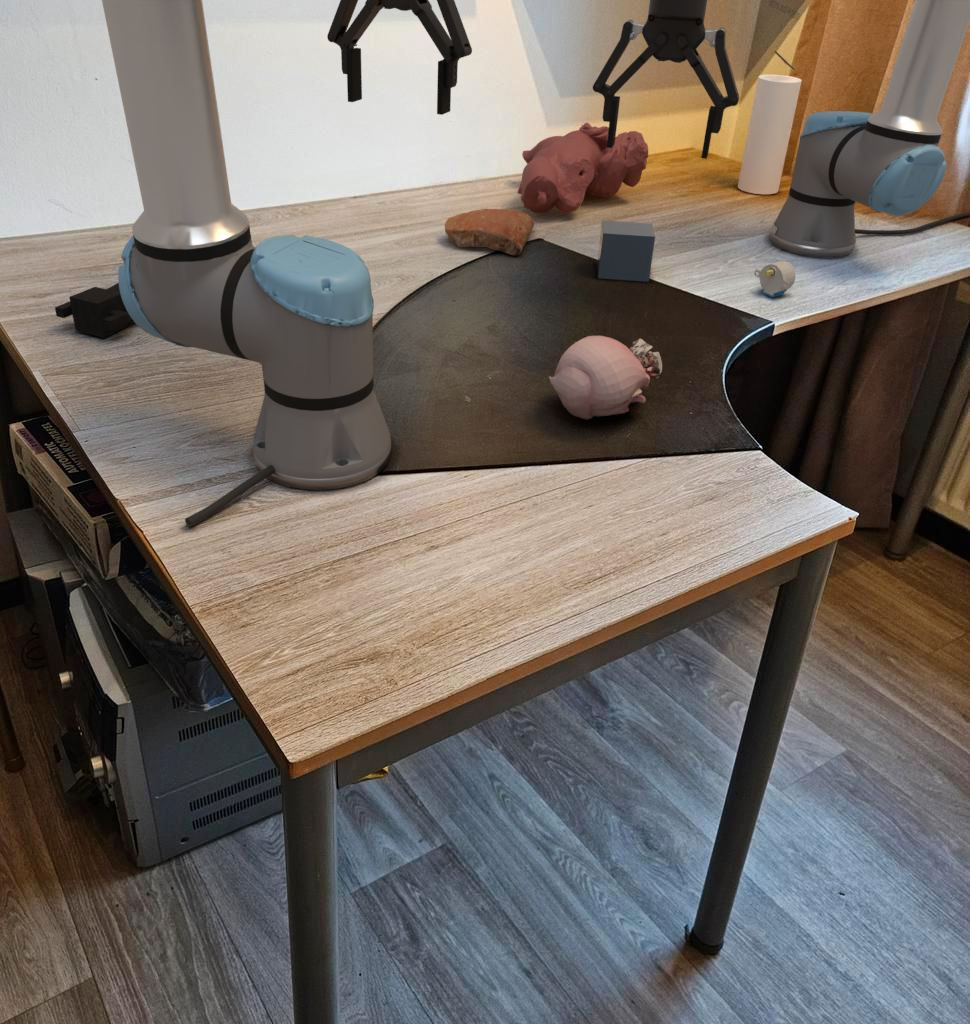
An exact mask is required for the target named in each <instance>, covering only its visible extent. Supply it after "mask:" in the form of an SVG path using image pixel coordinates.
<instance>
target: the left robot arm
mask: <svg viewBox="0 0 970 1024" xmlns="http://www.w3.org/2000/svg"><path fill="white" fill-rule="evenodd" d="M358 2H359V0H340V1H339V4H338V5H337V9H336V11H335V14H334V15H333V16H334V17H333V19H332V22H331V25H330V27H329V30H328V33H327V40H328V42H329V43H334V44H336V45H337V46H338V47H339V48H340V58H341V60H340V61H341V72H342V74H343V75H346V83H347V85H346V86H347V87H346V88H347V102H348V103H355V102H358V101H361V100H363V92H362V91H363V84H362V83H363V82H362V81H363V80H362V48H361V47H357V46H358V42H359V40H360V39H361V38H362V36H363V35H364V34H365V33H366V31H367V29H368V28H369V27H370V25H371V24H372V22H373V21H374V19H375V18H376V17H377V15H378V14H379V13H380V11H381V10H382V9H385V10H392V9H396V10H399V11H403V12H407V11H411V12H412V13H413V15H414V16H416V17H417V18H418V20H419V22H420V23H421V25H422V26H423V28H424V29H425V31H426V32H427V34H428V36H429V37H430V39H431V40H432V42H433V44H434V46H435V47H436V48H437V50H438V52H439V53H440V55H441V56H442V58H443V59H441V60H438V61H437V90H436V91H437V93H436V95H437V96H436V98H437V99H436V100H437V101H436V115H439V116H440V115H441V116H443V115H445V114H447V113H450V112H451V101H452V100H451V99H452V98H451V97H452V96H451V95H452V94H451V93H452V88H455V87H456V86H457V84H458V63H459V60H460V59H462V58H465V57H468V56H470V55H472V53H473V48H472V46H471V42H470V40H469V38H468V34H467V31H466V29H465V26H464V24H463V21H462V18H461V16H460V15H461V14H460V12H459V10H458V6H457V4H456V2H455V0H436V2H437V5H438V8H439V11H440V13H441V15H442V16H441V17H442V18H443V21H444V24H445V27H446V29H447V31H446V29H445V27H444V26H443V24H442V23H441V21H440V20H439V18H438V16H437V15H436V13H435V12H434V10H433V6H432V3H431V2H430V1H429V0H366V1H365V2H364V6H363V7H362V8H361V10H360V11H359V13H358V14H357V15H356V16H355V18H354V20H353V22H351V20H352V17H353V15H354V12H355V10H356V7H357V5H358ZM101 4H102V8H103V13H104V19H105V22H106V26H107V33H108V37H109V43H110V48H111V54H112V57H113V62H114V68H115V73H116V77H117V82H118V83H117V84H118V87H119V92H120V97H121V102H122V108H123V113H124V116H125V123H126V127H127V132H128V133H127V134H128V137H129V142H130V146H131V147H130V148H131V152H132V157H133V162H134V167H135V172H136V177H137V183H138V187H139V192H140V197H141V202H142V207H143V211H142V213H141V214H140V215H139V216H138V218H137V219H136V220H135V221H134V223H133V224H132V228H131V229H132V236H131V237H130V238H129V240H128V241H127V242H126V244H125V245H124V247H123V249H122V252H121V254H120V255H121V256H120V258H121V259H122V261H123V265H120V266H118V269H117V270H118V271H117V276H118V277H117V279H118V283H119V289H120V294H121V297H122V300H123V303H124V306H125V308H126V310H127V312H128V313H129V315H130V319H131V320H132V321H133V322H134V323H135V324H136V325H137V327H139V328H140V329H141V330H142V331H143V332H145V333H146V334H148V335H150V336H152V337H155V338H158V339H162V340H164V341H166V342H167V343H168V342H169V343H170V344H174V345H175V346H179V347H183V348H194V349H199V350H203V351H208V352H211V353H217V354H221V355H225V356H229V357H234V358H238V359H241V360H246V361H250V362H255V363H258V364H260V365H261V370H262V378H263V388H264V390H263V391H264V396H263V400H262V404H261V408H260V412H259V415H258V419H257V423H256V427H255V430H254V434H253V439H252V441H253V442H252V455H253V460H254V464H255V467H256V468H257V470H258V471H259V472H257V473H256V474H254V475H253V476H251V477H250V478H248V479H246V480H245V481H243V482H242V483H240V484H238V485H237V486H235V487H234V488H233V489H231V490H230V491H228V492H227V493H226V494H224V495H223V496H222V497H220V498H219V499H217V500H215V501H214V502H212V503H211V504H208V506H206V507H204V508H202V509H201V510H199V511H198V512H196V513H195V512H194V513H193V514H192V515H189V516H188V517H185V519H184V522H185V525H187V526H188V527H192V526H194V525H196V524H197V523H200V522H202V521H204V520H206V519H208V518H209V517H210V516H212V515H214V514H215V513H217V512H219V511H220V510H222V508H225V507H226V506H227V505H229V504H230V503H231V502H233V501H234V500H235V499H237V498H239V497H240V496H241V495H243V494H245V493H246V492H248V491H249V490H251V489H252V488H253V487H255V486H256V485H258V484H260V483H261V482H263V481H265V480H266V479H267V478H268V479H269V480H271V481H273V482H275V483H278V484H280V485H283V486H286V487H290V488H295V489H301V490H312V491H314V490H315V491H323V490H327V491H328V490H337V489H342V488H348V487H351V486H355V485H358V484H361V483H363V482H366V481H368V480H370V479H373V478H374V477H375V476H377V475H378V474H380V473H381V472H382V471H383V470H384V469H385V468H386V467H387V466H388V464H389V463H390V461H391V458H392V438H391V432H390V430H389V427H388V424H387V422H386V419H385V417H384V413H383V411H382V408H381V406H380V403H379V400H378V398H377V395H376V393H375V385H374V325H373V323H374V320H373V319H374V318H373V317H374V315H373V313H374V307H375V303H374V302H375V301H374V297H373V292H372V283H371V275H370V270H369V267H368V266H367V265H366V263H365V261H364V260H363V259H362V257H361V256H360V255H359V254H358V253H357V252H355V251H354V250H353V249H351V248H349V247H348V246H346V245H344V244H342V243H339V242H336V241H334V240H330V239H327V238H323V237H319V236H313V235H303V236H297V235H294V234H285V235H276V236H272V237H269V238H265V239H264V240H262V241H260V242H259V243H258V244H257V245H256V246H254V245H253V241H252V234H251V233H252V232H251V227H250V219H249V217H248V215H247V214H246V213H245V212H243V211H242V210H240V208H238V207H237V206H235V205H234V204H233V203H232V198H231V191H230V185H229V178H228V177H229V176H228V169H227V163H226V156H225V149H224V142H223V136H222V130H221V122H220V121H221V120H220V114H219V109H218V100H217V94H216V93H217V92H216V88H215V87H216V86H215V80H214V74H213V66H212V60H211V53H210V52H211V51H210V45H209V39H208V33H207V31H208V30H207V25H206V17H205V11H204V3H203V0H101ZM350 22H351V24H350Z"/></svg>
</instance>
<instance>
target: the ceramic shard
mask: <svg viewBox="0 0 970 1024" xmlns="http://www.w3.org/2000/svg"><path fill="white" fill-rule="evenodd" d="M534 222H535V221H534V219H533V218H532V216H530V215H529V214H527V213H525V212H523V211H520V210H516V209H508V208H481V209H476V210H471V211H468V212H463V213H459V214H457V215H453V216H451V217H448V218H447V220H446V221H445V222H444V233H445V234H446V236H447V237H448V239H449V240H450V241H451V242H452V243H455V244H456V246H457V247H461V248H462V247H463V248H465V247H476V248H478V247H482V248H483V247H484V248H489V249H491V250H494V251H500V252H502V253H505V254H506V255H507V254H508V255H510V256H514V257H515V256H519V255H520V254H522V251H523V250H524V247H525V246H526V243H527V241H528V240H529V236H530V234H531V232H532V231H533V228H534V225H535V223H534Z"/></svg>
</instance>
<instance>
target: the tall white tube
mask: <svg viewBox="0 0 970 1024" xmlns="http://www.w3.org/2000/svg"><path fill="white" fill-rule="evenodd" d="M768 6H770V7H772V8H774V7H777V8H779V7H780V8H779V9H778V10H779V12H782V13H784V14H787V15H790V16H792V19H795V18H796V21H799V19H800V17H799V16H798V15H800V13H799V12H797V14H796V11H795V10H794V9H792V8H789V7H783V4H781V5H780V3H778V2H777V1H776V0H770V2H769V5H768ZM797 16H798V17H797ZM773 53H774V54H776V56H777V57H778V58H779V59H781V61H782V62H783V63H784V64H785V65H786V66H788V68H790V69H791V70H792V71H793V72H794V71H795V68H794V67H793V66H792V65H791V64H790V63H789V62H788V61H787V60H786V59H785V58H784V57H783V56H782V55H780V53H778V52H777V50H775V51H774V52H773ZM802 80H803V79H801V78H799V77H795V76H791V75H783V74H769V73H768V74H767V73H766V74H760V75H758V76H757V82H756V87H755V91H754V97H753V102H752V108H751V113H750V119H749V124H748V128H747V129H748V130H747V134H746V139H745V145H744V150H743V156H742V161H741V166H740V172H739V177H738V182H737V188H738V189H739V190H741V191H743V192H746V193H749V194H754V195H755V194H756V195H773V194H777V193H778V192H779V190H780V185H781V180H782V176H783V171H784V166H785V162H786V157H787V151H788V148H789V142H790V138H791V133H792V128H793V123H794V119H795V115H796V109H797V104H798V100H799V96H800V91H801V86H802Z"/></svg>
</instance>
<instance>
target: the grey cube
mask: <svg viewBox="0 0 970 1024" xmlns="http://www.w3.org/2000/svg"><path fill="white" fill-rule="evenodd" d="M655 243H656V234H655V230H654V225H653V223H651V222H636V221H635V222H634V221H623V220H622V221H621V220H607V219H606V220H605V219H602V220H601V225H600V234H599V243H598V250H597V251H598V252H597V259H596V260H597V261H596V269H597V279H601V280H613V281H629V282H630V281H631V282H644V283H650V276H651V268H652V264H653V263H652V262H653V256H654V248H655Z"/></svg>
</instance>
